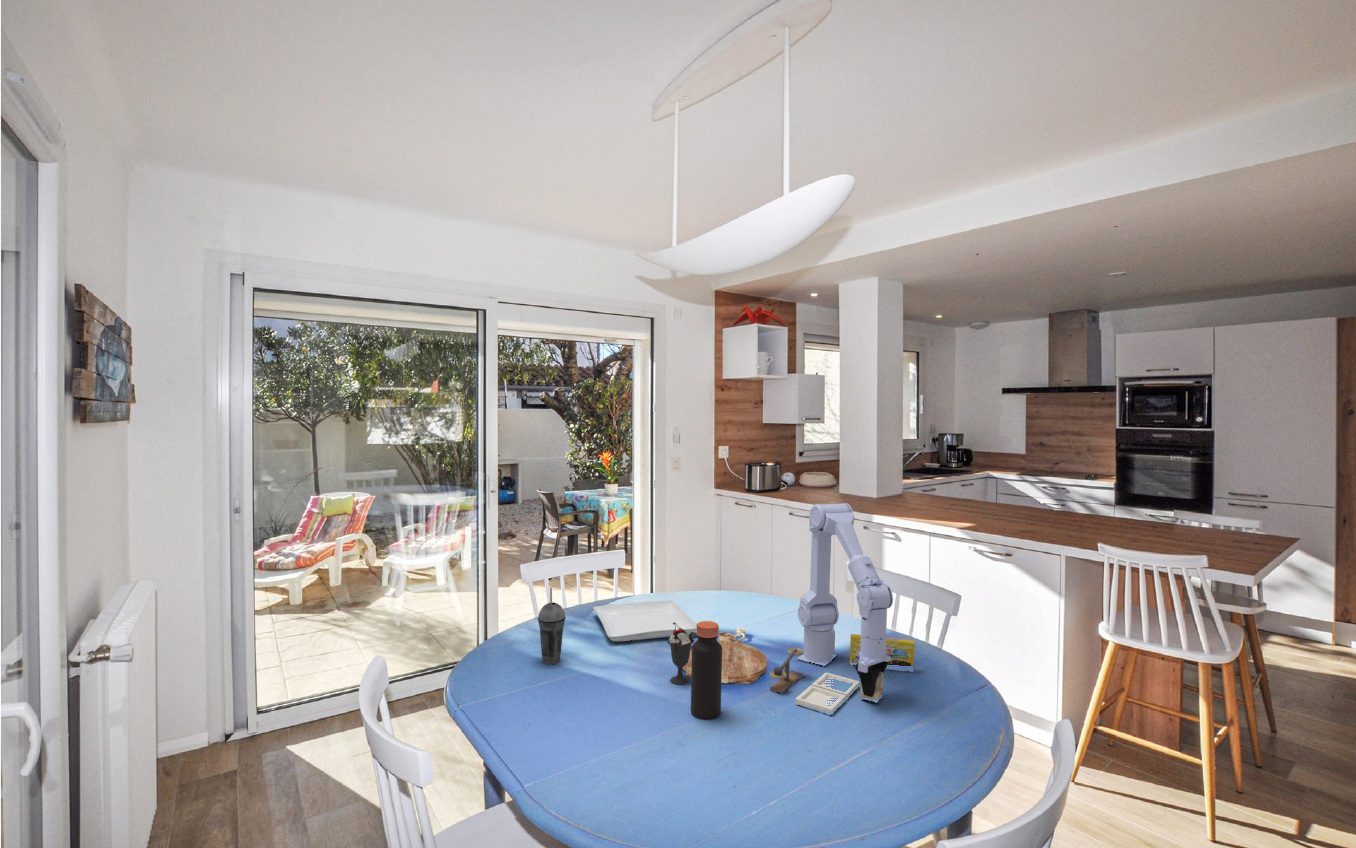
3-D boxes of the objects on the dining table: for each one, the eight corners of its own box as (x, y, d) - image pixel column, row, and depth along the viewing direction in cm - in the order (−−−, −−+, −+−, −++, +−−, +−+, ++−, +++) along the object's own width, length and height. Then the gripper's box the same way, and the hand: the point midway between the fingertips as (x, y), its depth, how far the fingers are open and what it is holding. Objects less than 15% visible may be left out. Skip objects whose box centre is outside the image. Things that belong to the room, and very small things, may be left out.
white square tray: (825, 678, 164) (825, 672, 164) (859, 687, 159) (859, 681, 159) (811, 690, 157) (811, 684, 157) (846, 700, 152) (846, 694, 152)
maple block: (865, 692, 156) (866, 668, 155) (882, 697, 153) (883, 672, 153) (860, 698, 152) (861, 673, 152) (877, 703, 150) (877, 678, 150)
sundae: (661, 683, 160) (662, 623, 159) (674, 673, 166) (675, 615, 165) (685, 689, 157) (686, 627, 156) (697, 678, 163) (698, 619, 162)
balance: (791, 671, 168) (792, 644, 168) (805, 675, 166) (806, 648, 165) (766, 691, 156) (767, 661, 156) (781, 695, 154) (782, 665, 154)
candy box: (849, 666, 172) (850, 636, 172) (849, 663, 174) (850, 633, 174) (913, 674, 168) (914, 642, 168) (912, 670, 171) (913, 639, 170)
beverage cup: (568, 656, 175) (569, 583, 174) (560, 667, 168) (561, 591, 167) (542, 655, 176) (543, 582, 175) (533, 666, 168) (534, 590, 168)
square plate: (592, 617, 208) (592, 605, 208) (673, 610, 216) (673, 599, 216) (608, 648, 182) (608, 634, 182) (699, 639, 191) (700, 626, 190)
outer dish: (810, 691, 157) (810, 685, 157) (845, 701, 152) (845, 695, 152) (795, 705, 149) (795, 698, 149) (831, 716, 144) (831, 709, 144)
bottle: (686, 708, 147) (687, 621, 146) (713, 703, 149) (715, 618, 149) (697, 722, 141) (699, 631, 140) (725, 717, 143) (727, 628, 142)
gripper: (880, 648, 144) (878, 708, 144) (899, 630, 156) (897, 685, 156) (849, 641, 148) (848, 699, 148) (870, 624, 160) (868, 678, 160)
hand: (871, 692), depth 153 cm, fingers closed on maple block, 4 cm apart
